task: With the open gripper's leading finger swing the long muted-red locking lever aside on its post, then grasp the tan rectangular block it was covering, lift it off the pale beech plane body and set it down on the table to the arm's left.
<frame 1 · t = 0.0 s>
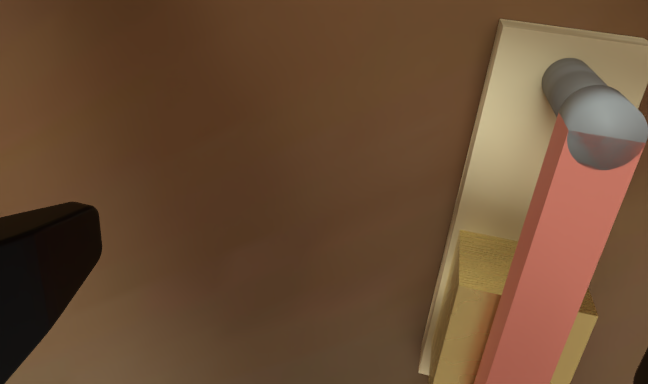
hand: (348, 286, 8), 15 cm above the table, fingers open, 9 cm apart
tan rectangular block: (498, 300, 22), point 2 cm above the table, touching plane body
plane body: (512, 218, 23), on the table
lever: (539, 297, 16), point 7 cm above the table, hinge at 0.0°
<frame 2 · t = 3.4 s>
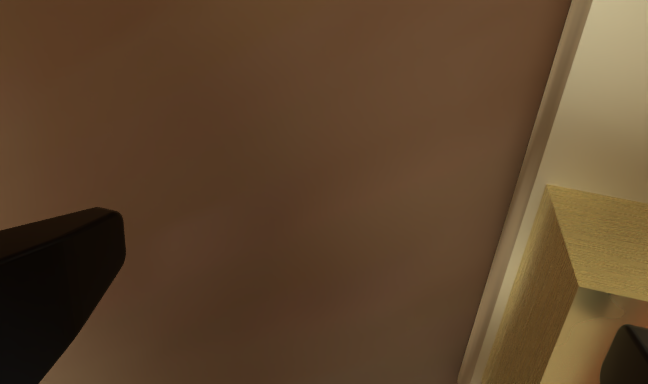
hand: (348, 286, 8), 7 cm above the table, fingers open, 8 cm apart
tan rectangular block: (606, 313, 13), point 2 cm above the table, touching plane body
plane body: (629, 169, 13), on the table
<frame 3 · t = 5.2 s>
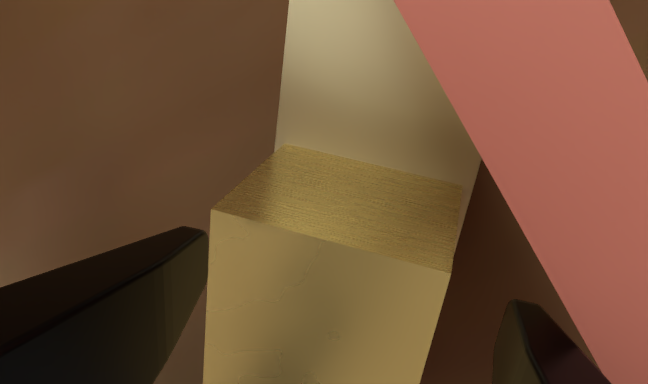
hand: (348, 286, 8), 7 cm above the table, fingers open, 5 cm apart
tan rectangular block: (351, 265, 14), point 2 cm above the table, touching plane body
plane body: (384, 139, 15), on the table
lever: (600, 198, 7), point 7 cm above the table, hinge at 41.4°, touching gripper
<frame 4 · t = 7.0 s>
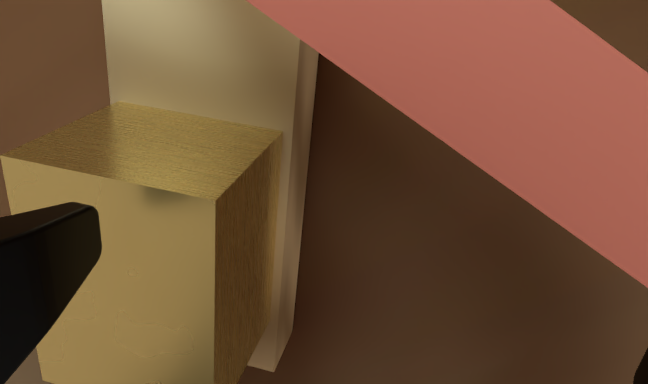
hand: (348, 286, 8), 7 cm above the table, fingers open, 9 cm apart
tan rectangular block: (199, 218, 15), point 2 cm above the table, touching plane body
plane body: (229, 95, 15), on the table
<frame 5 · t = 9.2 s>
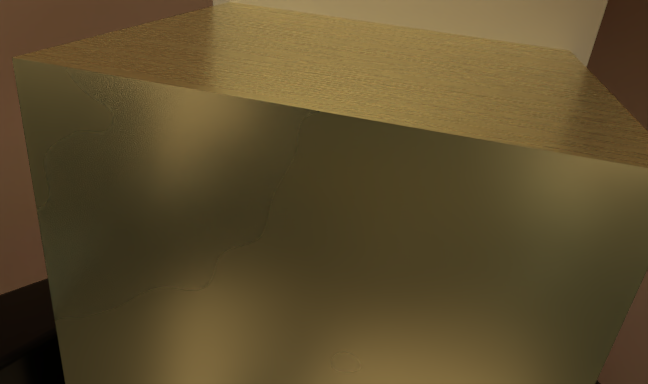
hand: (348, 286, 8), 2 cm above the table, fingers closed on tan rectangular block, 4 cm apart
tan rectangular block: (360, 222, 8), point 2 cm above the table, touching gripper, plane body
plane body: (405, 7, 9), on the table
when the fingers open (2 cm above the table, at t = 13.5 s): tan rectangular block drops 2 cm, on the table.
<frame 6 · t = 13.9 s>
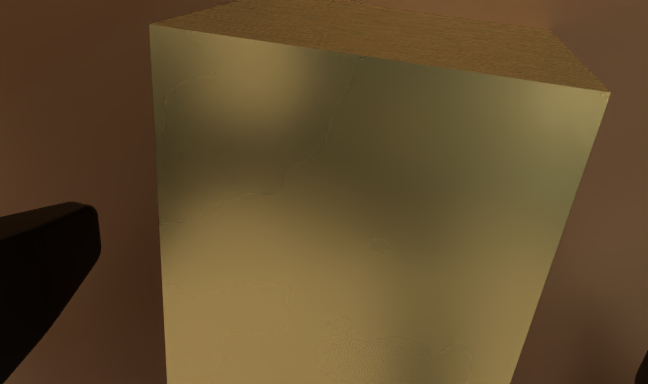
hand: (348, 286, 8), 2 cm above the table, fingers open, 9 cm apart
tan rectangular block: (378, 175, 10), on the table
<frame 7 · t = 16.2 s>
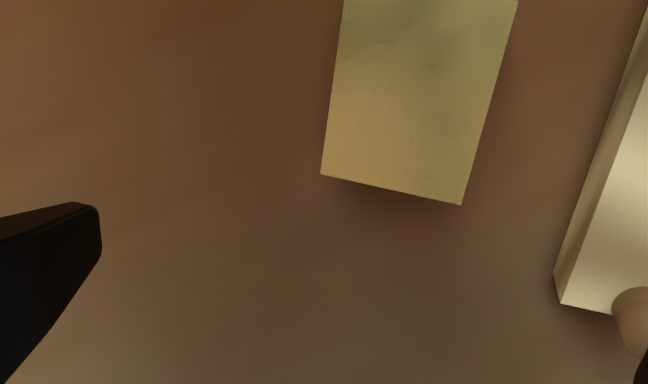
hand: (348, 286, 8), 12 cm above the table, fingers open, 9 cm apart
tan rectangular block: (419, 68, 19), on the table
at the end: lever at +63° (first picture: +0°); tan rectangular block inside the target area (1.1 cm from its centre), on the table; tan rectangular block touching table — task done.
